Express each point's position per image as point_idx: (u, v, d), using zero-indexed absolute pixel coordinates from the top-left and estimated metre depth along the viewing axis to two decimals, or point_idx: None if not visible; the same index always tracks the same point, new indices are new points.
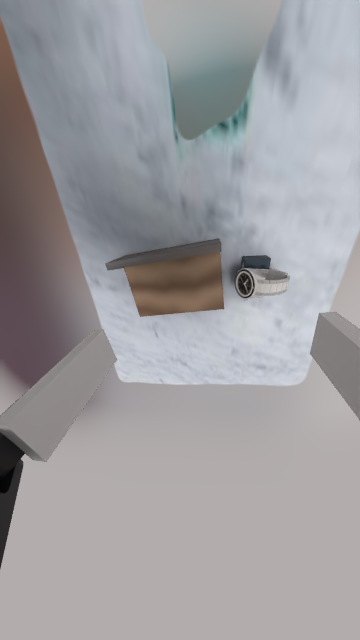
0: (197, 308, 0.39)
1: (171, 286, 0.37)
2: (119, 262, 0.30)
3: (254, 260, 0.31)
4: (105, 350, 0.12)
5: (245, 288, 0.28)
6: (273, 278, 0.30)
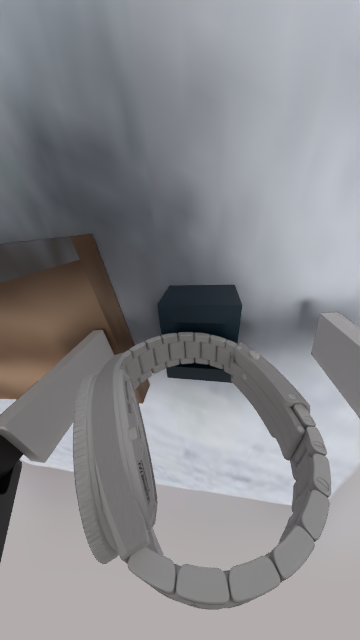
0: None
1: (10, 352, 0.15)
2: None
3: (187, 308, 0.09)
4: (104, 350, 0.12)
5: None
6: (249, 384, 0.08)
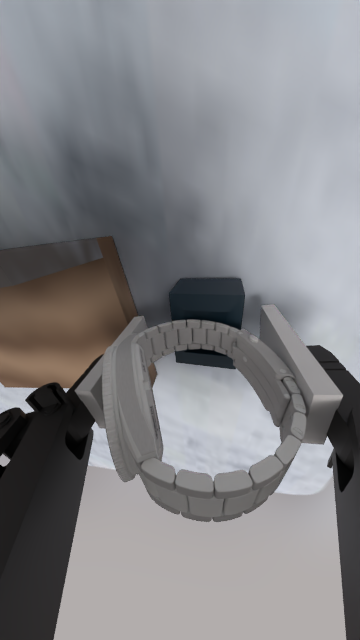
0: None
1: (33, 342, 0.17)
2: None
3: (195, 298, 0.10)
4: None
5: None
6: (248, 365, 0.09)
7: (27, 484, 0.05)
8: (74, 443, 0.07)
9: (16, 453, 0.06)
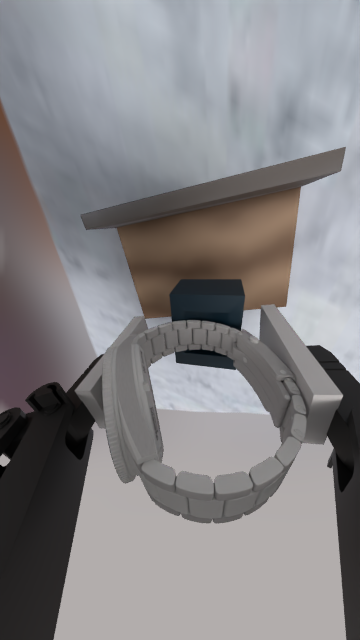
0: None
1: (199, 268, 0.22)
2: (107, 211, 0.15)
3: (195, 298, 0.10)
4: None
5: None
6: (248, 366, 0.09)
7: (28, 484, 0.05)
8: (74, 443, 0.07)
9: (16, 453, 0.05)
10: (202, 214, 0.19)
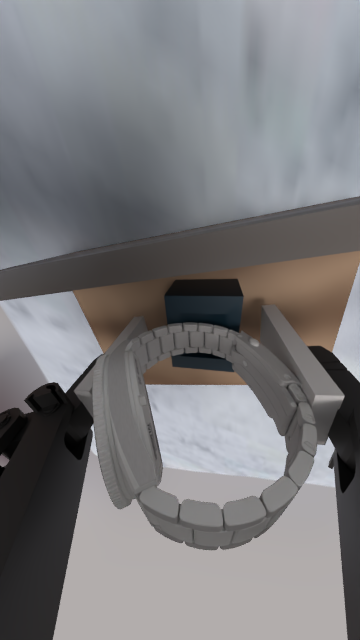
0: None
1: None
2: (1, 278, 0.07)
3: (192, 300, 0.10)
4: None
5: None
6: (249, 370, 0.08)
7: (27, 484, 0.05)
8: (73, 443, 0.07)
9: (15, 454, 0.05)
10: None
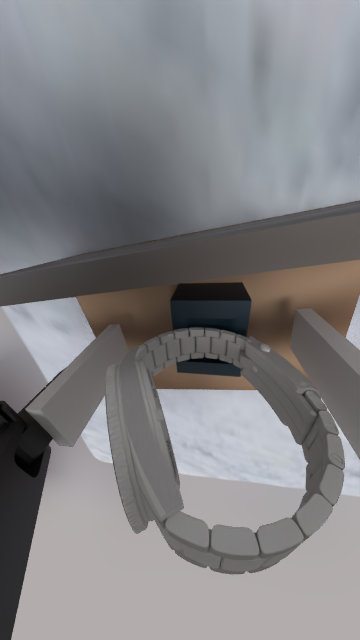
0: None
1: None
2: (2, 283, 0.07)
3: (198, 304, 0.09)
4: (120, 344, 0.12)
5: None
6: (259, 376, 0.08)
7: None
8: (27, 462, 0.07)
9: None
10: None
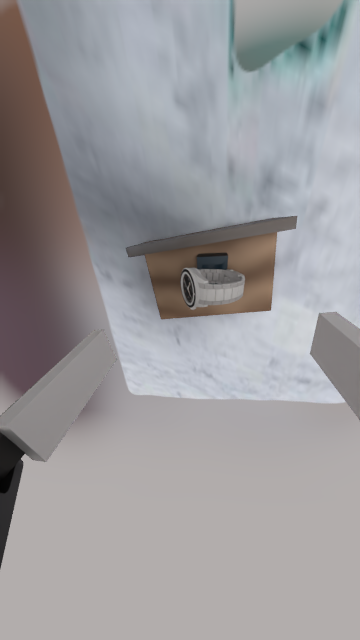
0: (236, 309, 0.31)
1: None
2: (145, 246, 0.22)
3: (208, 258, 0.24)
4: (105, 350, 0.12)
5: (189, 294, 0.21)
6: (230, 281, 0.23)
7: None
8: None
9: None
10: (208, 243, 0.26)
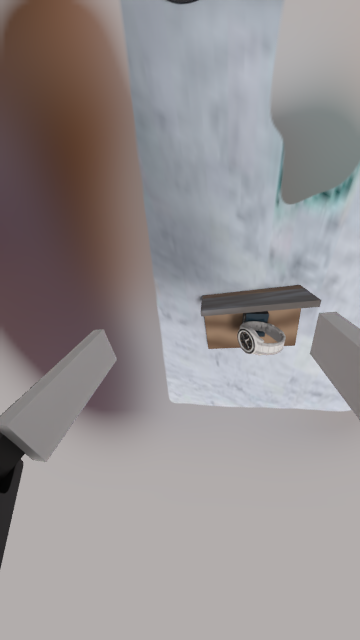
0: None
1: None
2: (215, 310, 0.32)
3: (254, 314, 0.35)
4: (105, 350, 0.12)
5: (246, 344, 0.32)
6: (271, 332, 0.33)
7: None
8: None
9: None
10: None
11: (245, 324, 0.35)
